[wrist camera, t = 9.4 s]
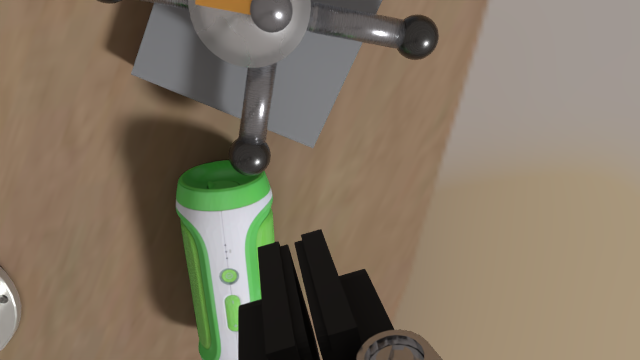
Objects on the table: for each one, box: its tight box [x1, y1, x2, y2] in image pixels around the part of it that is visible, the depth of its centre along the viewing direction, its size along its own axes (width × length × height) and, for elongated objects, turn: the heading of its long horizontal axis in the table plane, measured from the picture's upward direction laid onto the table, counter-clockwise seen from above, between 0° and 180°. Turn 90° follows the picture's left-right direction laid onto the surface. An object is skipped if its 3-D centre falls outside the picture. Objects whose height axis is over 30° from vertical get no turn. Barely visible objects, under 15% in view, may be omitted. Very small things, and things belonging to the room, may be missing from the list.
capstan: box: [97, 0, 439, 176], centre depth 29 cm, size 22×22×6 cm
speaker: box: [176, 160, 274, 360], centre depth 38 cm, size 18×7×8 cm, turn 2°
